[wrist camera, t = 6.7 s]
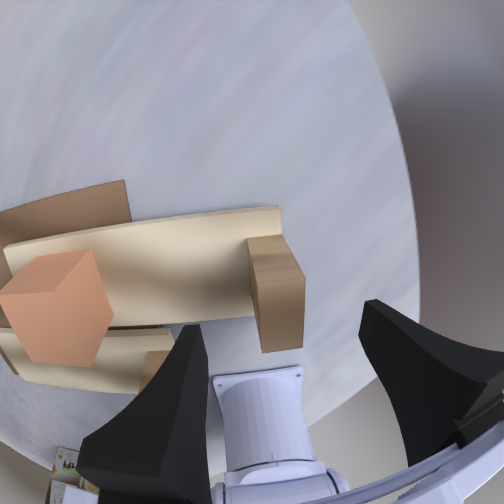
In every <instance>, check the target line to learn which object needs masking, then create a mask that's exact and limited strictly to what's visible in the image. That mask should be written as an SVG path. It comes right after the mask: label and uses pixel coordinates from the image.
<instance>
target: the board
mask: <svg viewBox="0 0 504 504" xmlns="http://www.w3.org/2000/svg"><path fill="white" fill-rule="evenodd" d="M130 222H132V218H131V213H130V208H129V203H128V198H127V193H126V187H125V181H124V180H119V181H114V182H110V183H105V184H100V185H96V186H91V187H87V188H83V189H78V190H74V191H70V192H66V193H63V194H59V195H55V196H51V197H48V198H44V199H41V200H37V201H34V202H30V203H27V204H24V205H21V206H17V207H14V208H11V209H8V210H5V211H2V212H0V290H1V289H2V288H3V287H4V286H5V285H6V284H7V283H8V282H9V281H10V280H11V279H12V278H13V276H12V273H11V271H10V268H9V265H8V263H7V260H6V257H5V254H4V251H3V249H4V248H5V247H6V246H8V245H10V244H14V243H19V242H24V241H29V240H33V239H38V238H43V237H49V236H54V235H59V234H64V233H70V232H75V231H81V230H87V229H93V228H99V227H105V226H111V225H117V224H124V223H130ZM0 328H12V327H11V325H10V323H9V321H8V319H7V317H6V315H5V313H4V311H3V309H2V307H1V305H0ZM156 328H161V326H160V324H155V325H136V326H109V327H108V329H107V330H135V329H156ZM0 353H1V355H2V356H3V358H4V359H5V361H6V362H7V364H8V365H9V367H10V368H11V370H12V371H13V372H14V374H16V375H19V373H18V372H17V370H16V369H15V368H14V366H13V365H12V363H11V362H10V360H9V359H8V357H7V356H6V354H5V353H4V351H3V349H2V348H1V346H0Z"/></svg>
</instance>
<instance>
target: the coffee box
mask: <svg viewBox="0 0 504 504" xmlns="http://www.w3.org/2000/svg"><path fill="white" fill-rule="evenodd" d="M78 455H79V452H77V451H73V450H69V449H66V448H63V447H58V451H57V454H56V458H55V462H54V465H53V469H52V473H51V478H50V482H49V487H48V492H47V497H46V502H45V504H62V502H63V497H64V492H65V487H66V486H67V485H69V486H72V487H75V488H79V489H82V490H86V491H89V492H92V493H95V494H97V495H99V491H100V489H99V488H98V487H96V486H95V485H93V484H92V483H90V482H89V481H87V480H86V479H84V478H83V477H82V476H81V475H79V474H78V472H77V471H76V464H77V460H78Z"/></svg>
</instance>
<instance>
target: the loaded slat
mask: <svg viewBox="0 0 504 504" xmlns="http://www.w3.org/2000/svg"><path fill="white" fill-rule="evenodd" d="M83 249H92V252H93V256H94V259H95V262H96V265H97V268H98V271H99V275H100V278H101V280H102V283H103V286H104V289H105V292H106V295H107V297H108V300H109V303H110V305H111V308H112V311H113V313H114V316H113V319H112V321H111V323H110V325H109V326H136V325H155V324H171V323H185V322H197V321H209V320H219V319H229V318H238V317H247V316H255V317H256V323H257V328H258V333H259V338H260V344H261V349H262V353H270V352H277V351H284V350H290V349H296V348H302V347H303V332H304V312H305V285H306V278H305V276H304V274H303V272H302V270H301V269H300V267H299V265H298V263H297V261H296V259H295V257H294V256H293V254H292V252H291V250H290V248H289V247H288V245H287V243H286V241H285V239H284V237H283V236H282V227H281V209H280V207H279V206H278V205H274V206H263V207H252V208H242V209H232V210H223V211H214V212H205V213H197V214H189V215H181V216H173V217H165V218H158V219H151V220H144V221H137V222H130V223H124V224H117V225H111V226H105V227H99V228H93V229H87V230H81V231H75V232H70V233H64V234H59V235H54V236H49V237H43V238H38V239H33V240H29V241H24V242H19V243H14V244H10V245H8V246H6V247H5V248H4V249H3V251H4V254H5V257H6V260H7V263H8V265H9V268H10V271H11V273H12V276H13V277H14V276H15V275H16V274H18V273H19V272H20V271H21V270H22V269H23V268H24V267H25V266H26V265H27V264H28V263H29V262H30V261H32V260H33V259H34V258H35V257H37V256H43V255H50V254H56V253H63V252H70V251H77V250H83Z"/></svg>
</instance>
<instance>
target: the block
mask: <svg viewBox="0 0 504 504" xmlns="http://www.w3.org/2000/svg"><path fill="white" fill-rule="evenodd" d="M0 305H1V307H2V309H3V311H4V313H5V315H6V317H7V319H8V321H9V323H10V325H11V327H12V328H13V330H14V332H15V334H16V336H17V337H18V339H19V341H20V342H21V344H22V346H23V347H24V349H25V351H26V352H27V354H28V356H29V357H30V359H31V360H32V362H39V363H48V364H57V365H68V366H81V367H92V364H93V362H94V359H95V357H96V355H97V352H98V350H99V348H100V345H101V343H102V341H103V338H104V336H105V334H106V332H107V329H108V327H109V325H110V323H111V321H112V319H113V316H114V313H113V311H112V308H111V305H110V303H109V300H108V297H107V295H106V292H105V289H104V286H103V283H102V280H101V278H100V275H99V271H98V268H97V265H96V262H95V259H94V256H93V252H92V249H83V250H77V251H70V252H63V253H56V254H50V255H43V256H37V257H35V258H34V259H33V260H32V261H30V262H29V263H28V264H27V265H26V266H25V267H24V268H23V269H22V270H21V271H20V272H19V273H18V274H16V275H15V276H14V277H13V278H12V279H11V280H10V281H9V282H8V283H7V284H6V285H5V286H4V287H3V288H2V289H1V290H0Z"/></svg>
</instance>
